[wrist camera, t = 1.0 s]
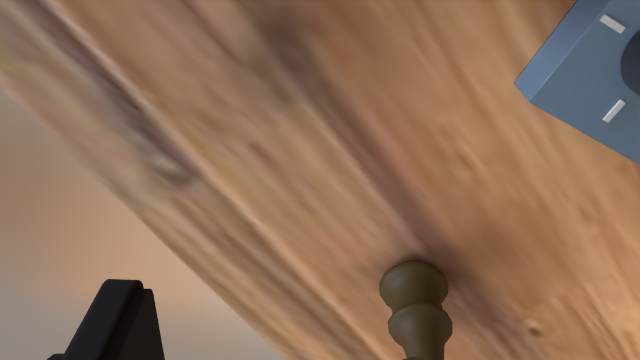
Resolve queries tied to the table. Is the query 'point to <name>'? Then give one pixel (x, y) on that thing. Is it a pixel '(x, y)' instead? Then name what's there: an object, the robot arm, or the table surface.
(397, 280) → the kendama
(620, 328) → the table surface
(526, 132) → the table surface
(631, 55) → the dimmer knob
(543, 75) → the dimmer panel
